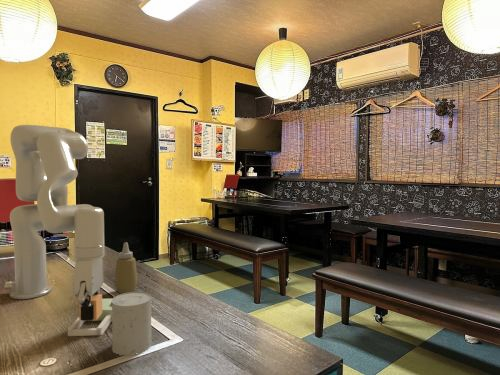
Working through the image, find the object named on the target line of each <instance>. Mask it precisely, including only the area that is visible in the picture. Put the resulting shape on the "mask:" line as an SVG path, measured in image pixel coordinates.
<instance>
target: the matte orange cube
mask: <svg viewBox="0 0 500 375" xmlns="http://www.w3.org/2000/svg"><path fill="white" fill-rule="evenodd" d="M85 298H86V299H88V300H89V297H85ZM102 299H103V294H102V293H101V294H95V295H93V298H92V305H93V307H94V319H93V320H97V319H98V318H99V317H100V315H101V314H102ZM78 314H79V316H78V317H79V320H81V307H80V302H78Z"/></svg>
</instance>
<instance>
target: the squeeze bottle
mask: <svg viewBox="0 0 500 375" xmlns="http://www.w3.org/2000/svg"><path fill="white" fill-rule="evenodd" d="M129 248H130V246H129V244H128V242H123V247H122V251H121V252H119V253H118V257H119V258H117V259H116V261H115V262H116V263H115V271H114V274H115V275H114V287H115V288H116V292H117V293H118V294H119V295H120V294H123V293H128V292H136V291H135V290H136V288H137V285H138V281H139V280H138V274H137V273H138V271H137V262H136V258H135V257H134V255H133V251H130V249H129Z"/></svg>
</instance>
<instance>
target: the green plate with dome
mask: <svg viewBox="0 0 500 375" xmlns="http://www.w3.org/2000/svg"><path fill="white" fill-rule="evenodd" d="M112 299H113V298H102V314H101V315H100V317H99V318H98V319H97V320H83V321H82V320H79V316H77V319H76V320H74V322H72V324H71V325H69V326H68V328H67V336H68V337H77V336H79V337H80V336H82V337H83V336H85V337H87V336H103V335H104V333H105V331H106V330H107V329H108V327H109V326H110V324H112ZM98 321H99V322H100V323H99V325H98V326H97V327H96V328H95V327H92V328H91V327H90V328H89V327H87V328H81V327H82V326H83V325H84V323H85V322H98Z"/></svg>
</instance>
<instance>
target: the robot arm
mask: <svg viewBox="0 0 500 375" xmlns="http://www.w3.org/2000/svg"><path fill="white" fill-rule="evenodd" d="M9 140H10V146H11V149H12V152H13V156H14V159H15V195H16V197H17V199H18V200H20V201H23V202H37V203H35V204H24V205H19V206H16V207H14V208H13V209H12V210H11V211H10V213H9V222H10V226H11V231H12V236H13V237H12V238H13V252H14V253H13V255H14V256H13V257H14V260H13V262H14V281H6V282H5V283H4V285H3V288H4V289H5V290H8V289H11V291H10V293H9V297H10V298H11V299H15V300H29V299H35V298H39V297H42V296H45V295H48V294H49V293H51V292H52V291H53V290H52V289H53V287H52V285H50V284H48V283H47V281H48V278H47V274H48V273H47V245H46V241H45V239H44V238H43V237H42V236H41V235H40V234H39V232H42V231H46V232H47V233H50V234H60V233H69V232H74V233H73V234H74V259H75V264H74V272H73V295H74V296H75V297H77V302H78V303H79V302H80V307H81V320H82V321H83V320H93V319H94V307H93V305H92V298H93V295H95V294H102V293H101V289H102V287H103V285H104V261H103V258H104V257H105V212H104V210H103V208H101V207H98V206H93V205H91V204H88V203H87V204H86V203H83V204H69V205H68V196H69V195H68V194H69V191H68V190H69V189H68V185H70V184H71V183H72V182H74V180H76V179H77V177H78V173H79V172H78V169H77V167H76V164H75V160H83V159H84V158H86V156H87V155H88V152H89V145H88V142H87V140H86V138H85V137H84V136H83V134H81V133H79V132H77V131H74V130H72V129H70V128H65V127H58V126H47V125H37V124H20V125H19V124H18V125H16V126H14V127H13V128H12V130H11V132H10V138H9ZM86 293H87V294H86ZM85 297H89V300H88V299H86V298H85Z"/></svg>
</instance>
